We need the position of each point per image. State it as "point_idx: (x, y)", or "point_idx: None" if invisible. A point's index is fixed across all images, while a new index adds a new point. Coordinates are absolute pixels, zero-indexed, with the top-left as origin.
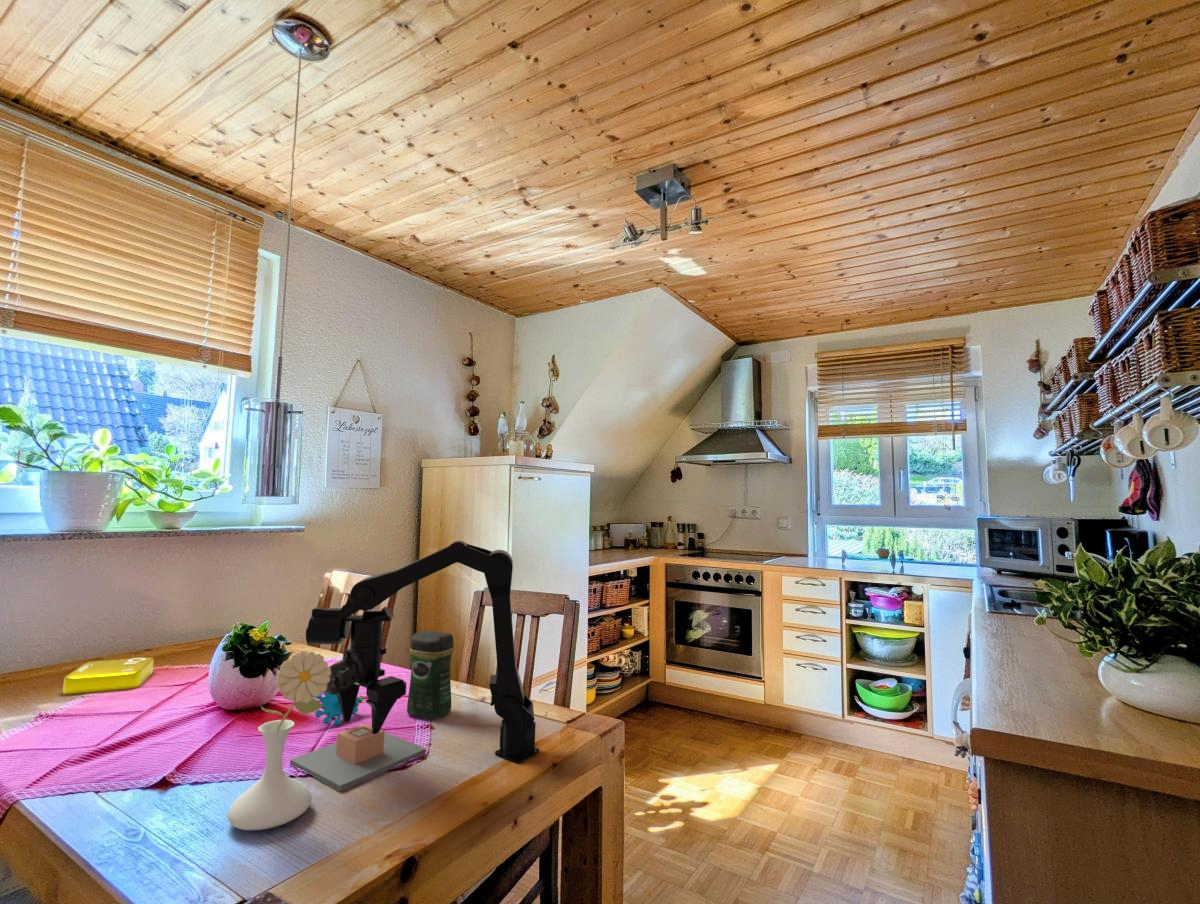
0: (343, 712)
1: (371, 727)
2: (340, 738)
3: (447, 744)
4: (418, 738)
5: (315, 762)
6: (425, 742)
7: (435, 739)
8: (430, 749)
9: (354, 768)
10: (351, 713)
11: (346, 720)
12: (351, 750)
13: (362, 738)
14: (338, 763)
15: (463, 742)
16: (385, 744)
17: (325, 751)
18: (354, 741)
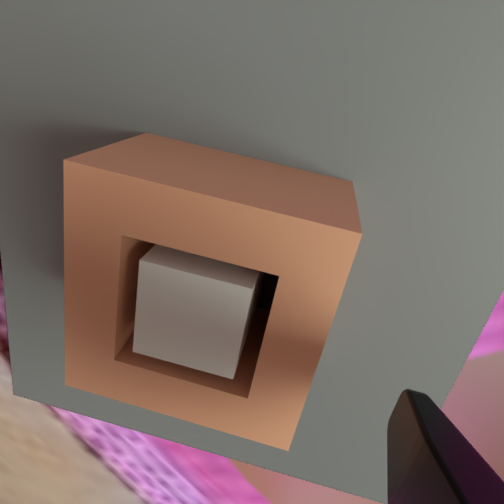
0: (445, 463)
1: (192, 407)
2: (309, 209)
3: (36, 461)
4: (170, 478)
5: (410, 23)
6: (117, 457)
7: (107, 484)
8: (51, 415)
9: (98, 85)
10: (392, 494)
11: (399, 406)
12: (159, 156)
13: (79, 233)
14: (244, 94)
15: (7, 484)
16: None
17: (468, 195)
18: (87, 164)
